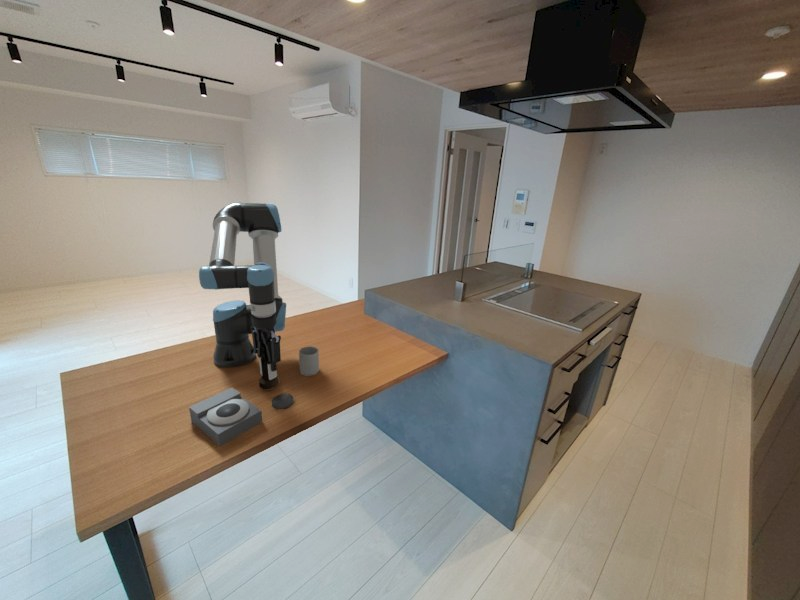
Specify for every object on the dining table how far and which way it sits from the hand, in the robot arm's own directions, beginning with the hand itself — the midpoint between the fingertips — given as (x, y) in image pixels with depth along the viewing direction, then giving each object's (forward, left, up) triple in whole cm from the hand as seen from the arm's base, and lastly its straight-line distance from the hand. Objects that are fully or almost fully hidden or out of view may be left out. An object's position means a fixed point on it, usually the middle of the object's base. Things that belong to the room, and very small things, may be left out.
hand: (268, 375), depth 116 cm
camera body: (+5, -18, -5) cm, 20 cm away
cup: (0, +17, -5) cm, 18 cm away
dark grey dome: (+10, -2, -5) cm, 12 cm away
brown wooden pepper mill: (0, 0, -4) cm, 4 cm away
